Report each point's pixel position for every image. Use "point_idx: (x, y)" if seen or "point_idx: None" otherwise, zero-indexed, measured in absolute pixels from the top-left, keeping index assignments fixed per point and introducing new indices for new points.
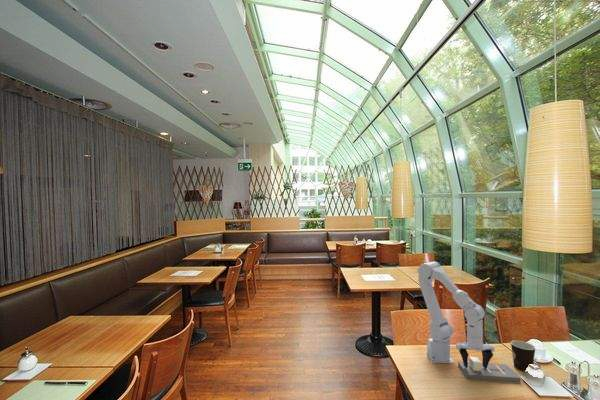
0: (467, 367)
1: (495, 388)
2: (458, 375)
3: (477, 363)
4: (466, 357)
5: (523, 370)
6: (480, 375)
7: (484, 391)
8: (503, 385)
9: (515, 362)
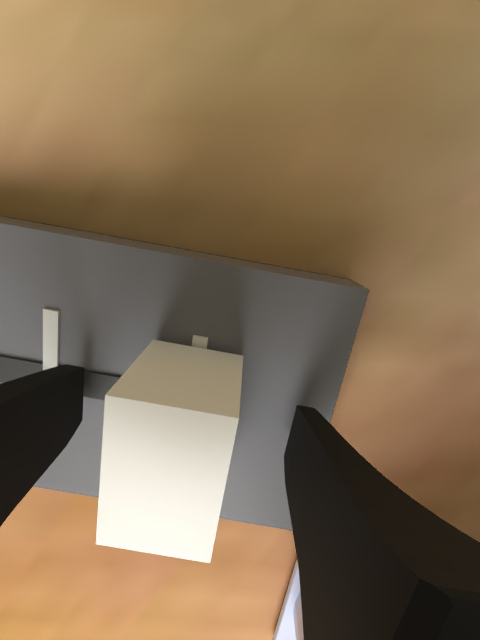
0: (298, 406)
1: (148, 85)
2: (395, 358)
3: (178, 395)
4: (385, 507)
5: None
6: (215, 263)
7: (321, 24)
8: (24, 143)
9: None
